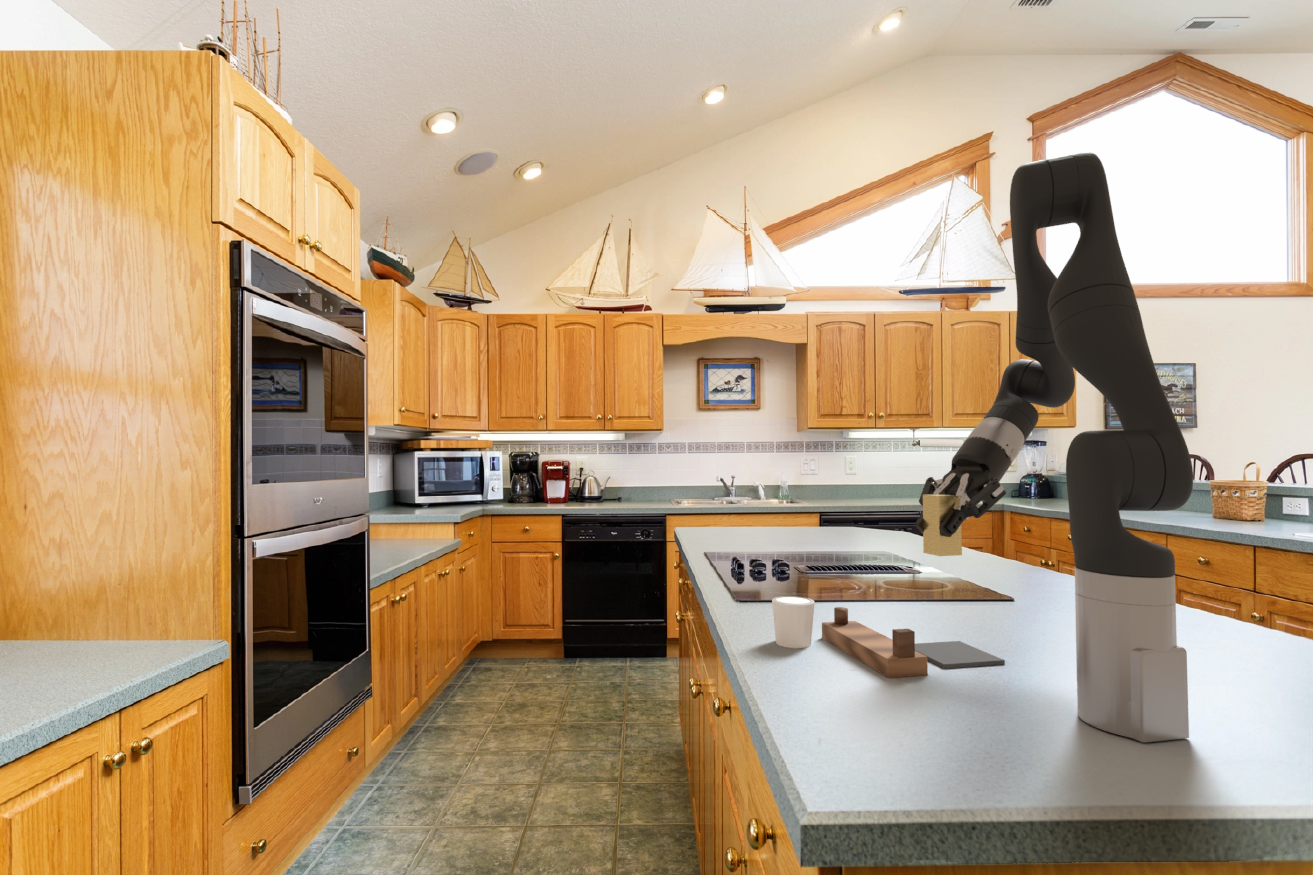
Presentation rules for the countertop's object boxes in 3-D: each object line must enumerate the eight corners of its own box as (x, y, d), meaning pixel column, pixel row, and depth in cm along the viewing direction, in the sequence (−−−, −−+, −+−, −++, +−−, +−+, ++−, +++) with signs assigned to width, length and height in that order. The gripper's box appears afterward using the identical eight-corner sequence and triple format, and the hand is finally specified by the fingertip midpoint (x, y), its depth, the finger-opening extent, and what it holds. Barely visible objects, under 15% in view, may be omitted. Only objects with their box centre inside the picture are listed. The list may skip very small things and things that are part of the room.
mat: (1004, 664, 92) (1004, 660, 92) (943, 668, 90) (943, 664, 90) (959, 644, 102) (959, 640, 102) (903, 648, 100) (903, 644, 100)
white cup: (819, 649, 99) (819, 604, 100) (775, 649, 100) (775, 604, 100) (809, 637, 106) (809, 595, 106) (768, 636, 106) (768, 595, 107)
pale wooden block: (962, 555, 96) (961, 495, 96) (939, 556, 95) (939, 496, 95) (944, 551, 99) (944, 494, 99) (923, 552, 98) (922, 494, 98)
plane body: (927, 674, 88) (927, 631, 88) (888, 677, 86) (887, 633, 87) (854, 635, 107) (854, 599, 108) (821, 637, 106) (821, 601, 106)
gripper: (940, 436, 107) (884, 511, 102) (1016, 433, 94) (957, 519, 89) (963, 467, 109) (910, 542, 104) (1041, 469, 96) (985, 554, 91)
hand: (932, 531), depth 96 cm, fingers closed on pale wooden block, 4 cm apart
